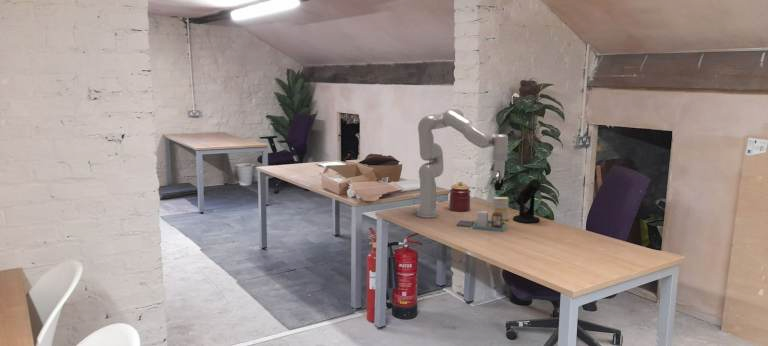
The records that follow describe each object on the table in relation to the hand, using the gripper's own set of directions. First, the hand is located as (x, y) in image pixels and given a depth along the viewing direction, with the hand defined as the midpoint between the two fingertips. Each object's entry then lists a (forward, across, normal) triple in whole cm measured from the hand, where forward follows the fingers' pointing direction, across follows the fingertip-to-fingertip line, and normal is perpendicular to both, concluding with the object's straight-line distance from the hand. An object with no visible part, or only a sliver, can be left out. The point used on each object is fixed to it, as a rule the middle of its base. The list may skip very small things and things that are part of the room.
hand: (498, 188), depth 301 cm
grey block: (+22, 0, -8) cm, 23 cm away
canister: (+22, -34, -28) cm, 49 cm away
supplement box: (+22, -18, -1) cm, 29 cm away
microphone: (+22, -21, +14) cm, 34 cm away
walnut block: (+22, 0, 0) cm, 22 cm away
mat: (+22, 0, -18) cm, 28 cm away
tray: (+22, 0, -4) cm, 22 cm away
